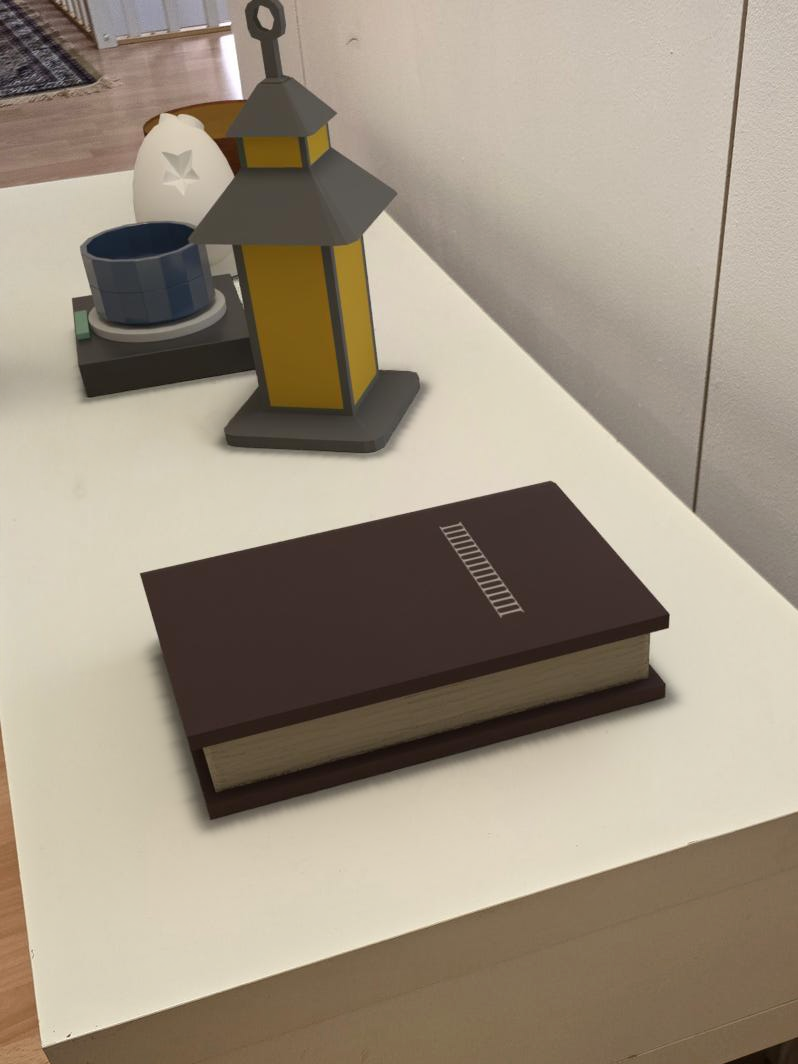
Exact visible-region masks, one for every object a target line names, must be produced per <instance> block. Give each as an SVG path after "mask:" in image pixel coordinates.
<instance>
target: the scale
mask: <svg viewBox="0 0 798 1064" xmlns="http://www.w3.org/2000/svg"><path fill="white" fill-rule="evenodd" d="M212 280H213V284H214V289H215V294H216V295H215V297H214V298H213V299H212V301H211V302H210V304H208V305H206V306H204V307H203V308H201V309H200V310H199V311H198V312H196V313H194V314H192V315H190V316H188V317H186V318H183V319H180V320H177V321H173V322H169V323H164V324H157V325H146V326H136V325H126V324H121V323H118V322H115V321H109V320H106V319H105V318H103V317H101V316H99V315H98V314H97V312H96V308H95V304H94V301H93V297H92V294H89V295H82V296H75V297H72V298H71V305H72V315H73V324H74V335H75V336H74V337H75V345H76V356H77V366H78V370H79V372H80V376H81V380H82V383H83V386H84V391H85V393H86V397H88V398H91V397H98V396H102V395H103V396H104V395H109V394H114V393H115V394H116V393H121V392H127V391H132V390H140V389H146V388H150V387H156V386H161V385H167V384H175V383H180V382H186V381H192V380H197V379H198V380H199V379H205V378H210V377H215V376H221V375H227V374H232V373H233V374H234V373H240V372H244V371H250V370H255V364H254V359H253V354H252V348H251V343H250V338H249V332H248V327H247V322H246V316H245V311H244V306H243V302H242V301H241V298H240V295H239V293H238V291H237V287H236V285H235V283H234V280H233V276H232V277H231V275H230V274H223V275H216V276H212Z"/></svg>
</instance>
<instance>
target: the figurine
mask: <svg viewBox="0 0 798 1064" xmlns="http://www.w3.org/2000/svg"><path fill="white" fill-rule="evenodd" d="M159 114H160V119H159V124H158V125H156V126H155V127H154V128H153V129H152V130H151V131H150V132H149V133H148V135H147V136H146V137H144V139H143V141H142V143H141V145H140V147H139V149H138V151H137V156H136V159H135V163H134V169H133V177H132V203H133V212H134V218H135V223H140V222H147V221H148V222H149V221H178V222H186V223H190V224H193V225H195V226H198V225H199V223H200V222H201V221H202V219H203V218H204V217H205V215H206V214H207V213H208V211H209V210H210V209H211V208H212V206H213V205H214V204H215V202H216V201H217V200H218V198H219V197H220V196H221V194H222V193H223V192H224V190H225V189H226V188H227V186H228V185H229V184H230V183H231V181H232V180H233V178H234V174H233V172H232V170H231V168H230V166H229V164H228V162H227V160H226V158H225V156H224V155H223V153H222V152H221V150H220V149H219V147H218V146H217V144H216V143H215V142H214V141H213V140H212V139H211V137H210V136H209V135H208V134H207V133H206V132H205V131H204V125H203V124H202V123H201V122H200V121H199V120H198V119H196V118H195V117H192V116H190V115H185V114H179V115H178V117H177V116H175V115H172V114H168V113H164V112H162V114H161V113H159ZM205 245H206V250H207V255H208V260H209V265H210V270H211V275H212V276H216V275H223V274H230V275H231V277H232V278H233V277H235V276H238V274H237V269H236V263H235V258H234V253H233V247H232V245H215V244H205Z"/></svg>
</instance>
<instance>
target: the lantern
mask: <svg viewBox="0 0 798 1064" xmlns="http://www.w3.org/2000/svg"><path fill="white" fill-rule="evenodd" d="M260 7H264V8H266V9H268V10H269V12H270V14H271V16H272V18H273V22H272V27H271V29H268V28H266V27H264V26H263V25H262V23H261V21H260V20H259V18H258V15H259V10H260ZM244 15H245V20H246V27H247V31H248V33H249V35H250V38H252V39H255V40H257V41H259V42H260V43H259V44H260V50H261V54H262V62H263V69H264V75H265V78H264V79H262V80H261V81H260V82H258V83H257V84H256V86H255V87H254V89H253V90H252V92H251V93H250V94H249V96H248V97H247V99H246V100H247V101H246V103H245V104H244V106H243V107H242V109H241V110H240V112H239V113H238V115H237V117H236V118H235V120H234V121H233V123H232V124H231V126H230V127H229V129H228V130H227V132H226V134H225V137H236V141H237V147H238V153H239V159H240V164H241V168H240V170H239V171H238V173H237V174H236V176H235V177H234V178H233V180H232V181H231V183H230V184H229V185H228V186H227V188H226V189H225V190H224V192H223V193H222V194H221V196H220V197H219V198H218V200H217V201H216V202H215V204H214V205H213V206H212V208H211V209H210V210H209V211H208V213H207V214H206V215H205V217H204V218H203V219H202V221H201V222H200V223H199V225H198V226H197V227H196V229H195V230H194V231H193V233H192V234H191V235H190V237H189V238H188V241H189V243H193V244H215V245H232V247H233V253H234V258H235V263H236V269H237V274H238V275H237V278H238V283H239V289H240V290H239V291H240V295H241V300H242V301H241V302H242V306H243V308H244V311H245V316H246V322H247V327H248V332H249V338H250V343H251V348H252V354H253V359H254V364H255V369H254V370H255V374H256V380H257V385H258V386H257V387H256V389H254V391H253V392H252V393H251V394H250V396H249V397H248V398H247V399H246V401H245V402H244V403H243V404H242V405H241V406H240V408H239V409H238V410H237V411H236V413H235V414H234V415H233V416H232V417H231V419H230V420H229V422H228V423H227V424H226V425H225V426H224V427H223V431H224V435H225V440H226V444H227V445H230V446H233V447H241V448H242V447H243V448H244V447H245V448H261V449H264V448H265V449H283V450H284V449H285V450H302V451H303V450H304V451H305V450H307V451H325V452H327V451H328V452H345V453H346V452H347V453H372V452H377V451H378V450H380V449H383V448H384V447H385V446H386V445H387V443H388V442H389V440H390V438H391V437H392V434H393V433H394V431H395V430H396V428H397V427H398V425H399V423H400V422H401V420H402V419H403V417H404V415H405V413H406V412H407V409H408V408H409V406H410V405H411V403H412V402H413V400H414V398H415V397H416V395H417V393H418V392H419V390H420V389H421V383H420V376H419V375H418V373H417V372H415V371H411V370H401V369H400V370H397V369H395V370H394V369H379V359H378V352H377V350H378V349H377V343H376V334H375V325H374V318H373V317H374V316H373V308H372V299H371V292H370V284H369V283H370V282H369V275H368V274H369V273H368V266H367V258H366V249H365V241H364V234H365V233H366V232H367V230H368V229H369V228H370V227H371V226H372V224H373V223H374V222H375V221H376V220H377V219H378V217H379V216H380V215H381V214H382V213H383V212H384V210H386V208H387V207H388V206H389V205H390V204H391V203H392V202H393V200H394V199H395V198H396V197H397V196H398V192H397V191H396V189H394V188H392V187H391V186H389V185H388V184H387V183H385V182H383V180H380V179H379V178H378V177H376V176H375V175H374V174H372V173H370V172H369V171H368V170H366V169H365V168H363V167H361V166H360V165H358V164H357V163H356V162H354V161H353V160H351V159H350V158H348V157H347V156H345V155H344V154H342V153H341V152H339V151H338V150H336V149H335V148H334V147H332V144H331V137H330V128H329V122H330V121H331V120H332V119H333V118H334V117H335V116H337V115H338V112H337V111H336V110H335V109H333V108H332V107H331V106H329V105H328V104H327V103H326V102H325V101H323V100H322V99H321V98H320V97H318V96H317V95H315V93H313V92H312V91H310V90H309V89H308V88H307V87H306V86H304V85H303V84H301V83H300V82H299V81H298V80H297V79H296V78H294V77H292V76H290V75H285V74H284V73H283V66H282V60H281V51H280V45H279V38H280V37H282V36H284V35H285V34H286V29H287V22H286V15H285V7H284V5H283V4H282V2H281V1H280V0H250V1H249V2H248V3H247V4H246V6H245V8H244Z"/></svg>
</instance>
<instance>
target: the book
mask: <svg viewBox="0 0 798 1064" xmlns="http://www.w3.org/2000/svg"><path fill="white" fill-rule="evenodd" d="M139 575H140V576H139V577H140V579H141V583H142V587H143V590H144V593H145V596H146V600H147V604H148V608H149V611H150V614H151V619H152V621H153V625H154V628H155V632H156V635H157V639H158V642H159V645H160V649H161V652H162V656H163V660H164V662H165V666H166V669H167V673H168V677H169V680H170V684H171V687H172V691H173V694H174V698H175V701H176V704H177V708H178V711H179V714H180V718H181V722H182V726H183V729H184V733H185V736H186V739H187V743H188V747H189V749H190V754H191V757H192V761H193V764H194V767H195V771H196V774H197V778H198V781H199V784H200V788H201V792H202V795H203V798H204V802H205V805H206V808H207V813H208V815H209V819H210V820H213V819H217V818H221V817H223V816H224V817H225V816H228V815H231V814H235V813H239V812H244V811H246V810H250V809H255V808H257V807H262V806H265V805H268V804H273V803H276V802H281V801H284V800H288V799H291V798H294V797H299V796H302V795H306V794H309V793H313V792H318V791H320V790H321V791H322V790H325V789H328V788H332V787H336V786H340V785H343V784H347V783H349V782H350V783H351V782H354V781H358V780H361V779H366V778H368V777H372V776H373V777H374V776H377V775H381V774H384V773H387V772H393V771H395V770H399V769H402V768H406V767H410V766H414V765H417V764H421V763H425V762H428V761H429V762H430V761H433V760H436V759H439V758H444V757H447V756H451V755H455V754H458V753H462V752H465V751H470V750H473V749H477V748H481V747H484V746H488V745H492V744H496V743H499V742H503V741H507V740H511V739H514V738H517V737H522V736H525V735H530V734H533V733H536V732H540V731H544V730H547V729H552V728H555V727H559V726H562V725H563V726H564V725H567V724H569V723H574V722H576V721H581V720H585V719H588V718H591V717H596V716H599V715H603V714H607V713H611V712H615V711H618V710H622V709H626V708H630V707H633V706H636V705H637V706H638V705H641V704H644V703H647V702H651V701H655V700H659V699H663V698H666V687H667V686H666V685H667V684H666V682H665V681H664V679H662V677H661V676H660V675H659V673H658V672H657V671H656V670H655V668H654V667H653V666H652V665H651V663H650V649H651V648H650V647H651V634H652V633H656V632H660V631H664V630H667V629H670V616H671V614H670V612H669V611H668V609H666V607H665V606H664V605H663V604H662V603H661V602H660V601H659V599H657V597H656V596H655V595H654V593H652V592H651V590H650V589H648V587H647V586H646V585H645V583H643V581H642V580H641V579H640V578H639V577H638V576H637V575H636V573H635V572H634V571H633V570H632V568H631V567H630V566H629V565H628V564H627V563H626V562H625V561H624V559H623V558H622V557H621V556H620V555H619V554H618V552H617V551H616V550H615V549H614V548H613V546H611V545H610V543H608V541H607V540H606V539H605V538H604V537H603V535H602V534H601V533H600V532H599V531H598V530H597V528H596V527H595V526H594V525H593V524H592V523H591V522H590V520H589V519H588V518H587V517H586V516H585V515H584V514H583V512H582V511H581V510H580V509H579V508H578V507H577V506H576V504H574V502H573V501H572V500H571V499H570V498H569V496H568V495H567V494H566V493H565V492H564V491H563V490H562V488H561V487H560V486H559V485H558V484H557V482H554V481H553V480H546V481H543V482H538V483H534V484H529V485H525V486H521V487H516V488H511V489H507V490H503V491H498V492H494V493H490V494H485V495H481V496H475V497H472V498H468V499H463V500H458V501H453V502H449V503H445V504H441V505H436V506H431V507H428V508H423V509H419V510H414V511H410V512H405V513H400V514H397V515H392V516H387V517H382V518H379V519H374V520H369V521H366V522H362V523H361V522H360V523H356V524H352V525H346V526H343V527H339V528H335V529H334V528H333V529H329V530H326V531H325V530H324V531H321V532H317V533H312V534H307V535H302V536H299V537H294V538H289V539H285V540H281V541H276V542H272V543H268V544H263V545H258V546H254V547H249V548H246V549H241V550H237V551H232V552H228V553H225V554H224V553H223V554H219V555H213V556H210V557H205V558H201V559H196V560H192V561H187V562H183V563H179V564H175V565H170V566H165V567H161V568H157V569H153V570H148V571H142V572H139Z"/></svg>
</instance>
